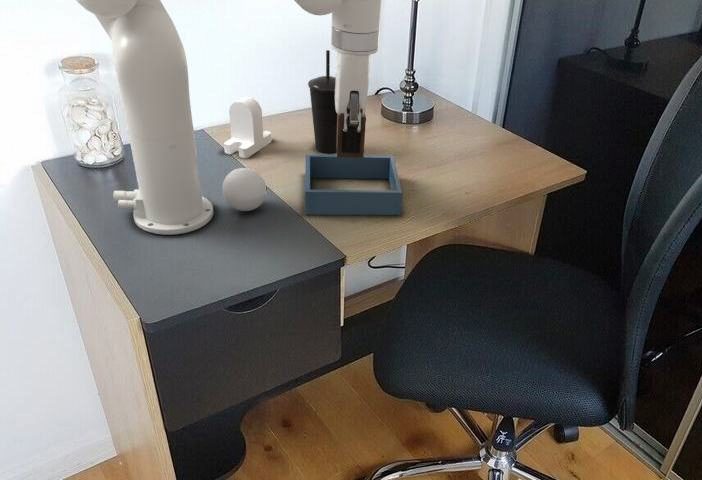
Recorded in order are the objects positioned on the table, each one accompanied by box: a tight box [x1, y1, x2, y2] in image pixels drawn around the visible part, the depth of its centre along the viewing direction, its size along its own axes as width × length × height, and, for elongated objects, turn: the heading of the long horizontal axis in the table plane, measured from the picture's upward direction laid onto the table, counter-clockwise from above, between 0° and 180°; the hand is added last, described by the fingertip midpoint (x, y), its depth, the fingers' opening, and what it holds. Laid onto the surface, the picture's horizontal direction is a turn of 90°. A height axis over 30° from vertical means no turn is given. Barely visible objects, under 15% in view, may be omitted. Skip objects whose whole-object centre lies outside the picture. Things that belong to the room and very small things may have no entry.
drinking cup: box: [307, 49, 337, 154], centre depth 130 cm, size 8×8×20 cm
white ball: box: [221, 167, 268, 212], centre depth 112 cm, size 10×7×7 cm
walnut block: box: [336, 109, 367, 158], centre depth 113 cm, size 5×5×8 cm
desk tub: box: [304, 154, 403, 216], centre depth 119 cm, size 17×15×4 cm
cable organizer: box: [223, 96, 272, 159], centre depth 130 cm, size 5×10×10 cm, turn 159°
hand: (349, 144), depth 114 cm, fingers closed on walnut block, 4 cm apart
